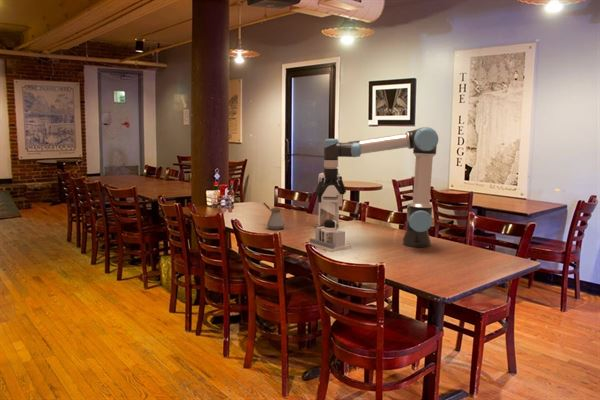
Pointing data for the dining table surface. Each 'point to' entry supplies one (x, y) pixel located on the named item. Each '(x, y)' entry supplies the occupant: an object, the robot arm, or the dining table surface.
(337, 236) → the rail board
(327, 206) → the grey dispenser tower
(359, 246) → the dining table surface
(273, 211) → the coffee pot
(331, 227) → the container
